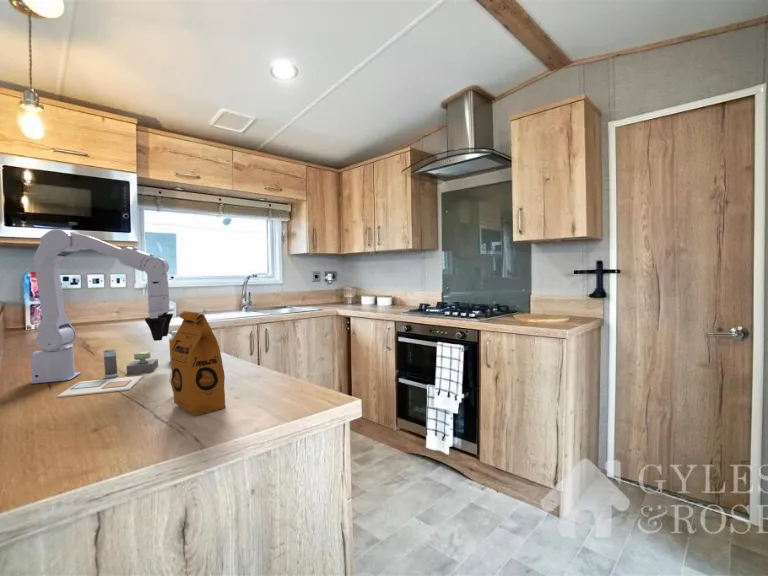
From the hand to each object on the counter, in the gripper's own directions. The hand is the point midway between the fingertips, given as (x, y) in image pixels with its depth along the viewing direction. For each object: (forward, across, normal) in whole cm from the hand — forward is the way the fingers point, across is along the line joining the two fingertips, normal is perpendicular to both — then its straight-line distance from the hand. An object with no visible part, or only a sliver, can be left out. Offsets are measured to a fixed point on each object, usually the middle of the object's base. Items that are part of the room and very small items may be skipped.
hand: (160, 338), depth 124 cm
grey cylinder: (+10, -4, +13) cm, 17 cm away
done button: (+9, +2, +6) cm, 11 cm away
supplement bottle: (+10, +12, -3) cm, 16 cm away
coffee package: (+10, -42, -17) cm, 46 cm away
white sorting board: (+10, -14, +11) cm, 21 cm away
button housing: (+10, +2, +6) cm, 12 cm away
